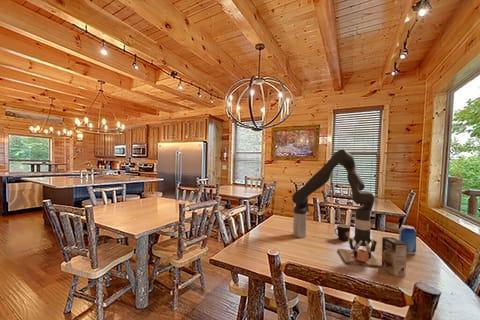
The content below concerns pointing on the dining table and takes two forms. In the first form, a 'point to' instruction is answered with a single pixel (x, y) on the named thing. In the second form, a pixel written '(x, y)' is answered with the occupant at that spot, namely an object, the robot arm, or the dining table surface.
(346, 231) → the coffee mug
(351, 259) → the carrier
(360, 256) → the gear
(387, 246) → the coffee box
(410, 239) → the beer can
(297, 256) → the dining table surface
